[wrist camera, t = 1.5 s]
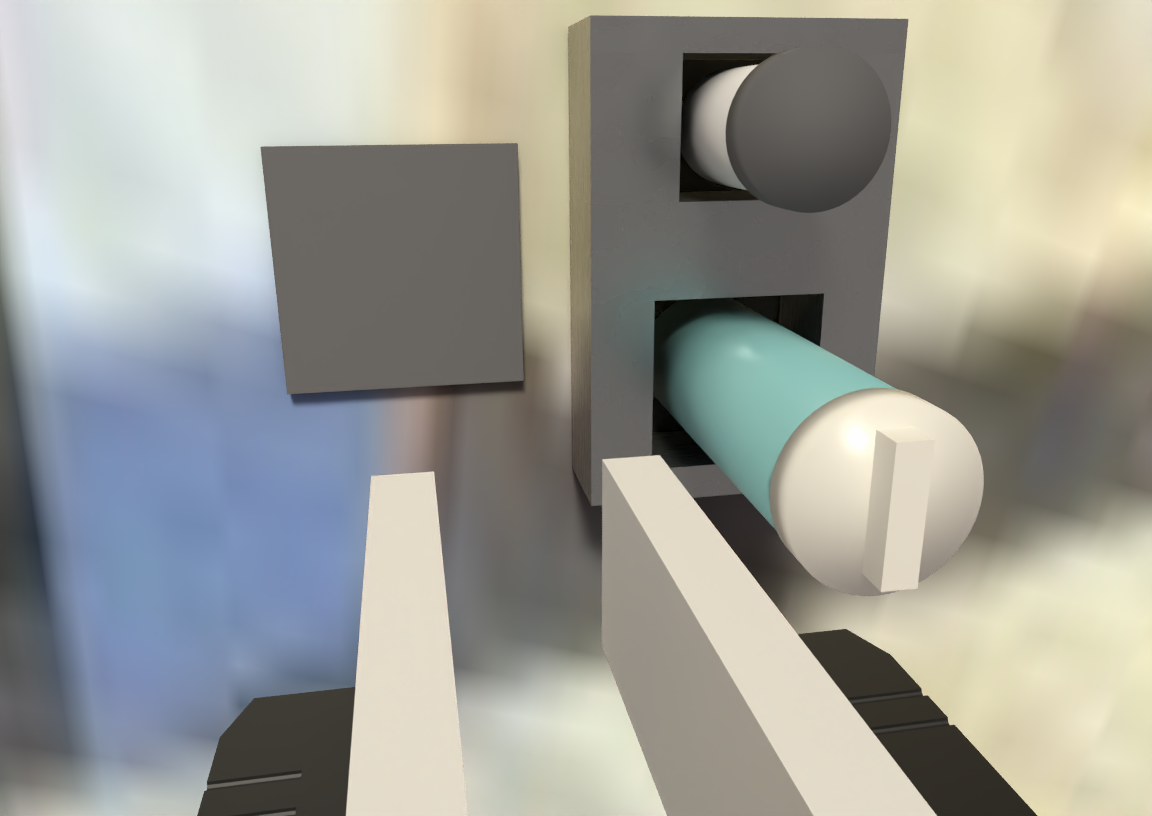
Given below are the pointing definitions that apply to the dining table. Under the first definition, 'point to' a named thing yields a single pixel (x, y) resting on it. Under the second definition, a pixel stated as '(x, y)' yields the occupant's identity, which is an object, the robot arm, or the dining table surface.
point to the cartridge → (820, 446)
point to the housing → (699, 225)
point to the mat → (396, 264)
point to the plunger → (790, 128)
